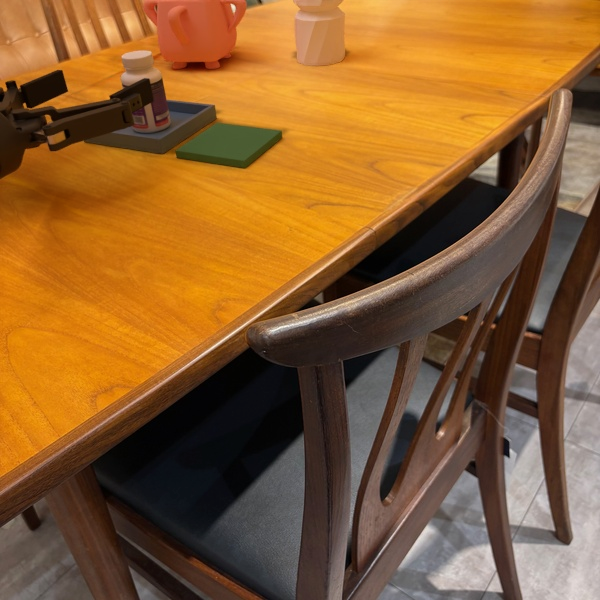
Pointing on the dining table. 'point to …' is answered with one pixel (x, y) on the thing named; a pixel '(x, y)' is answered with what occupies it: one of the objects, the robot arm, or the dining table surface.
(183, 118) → the tray
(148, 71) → the pill bottle
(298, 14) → the vase
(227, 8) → the pink handled pot
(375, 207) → the dining table surface
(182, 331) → the dining table surface
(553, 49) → the dining table surface
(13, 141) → the robot arm
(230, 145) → the scouring pad
